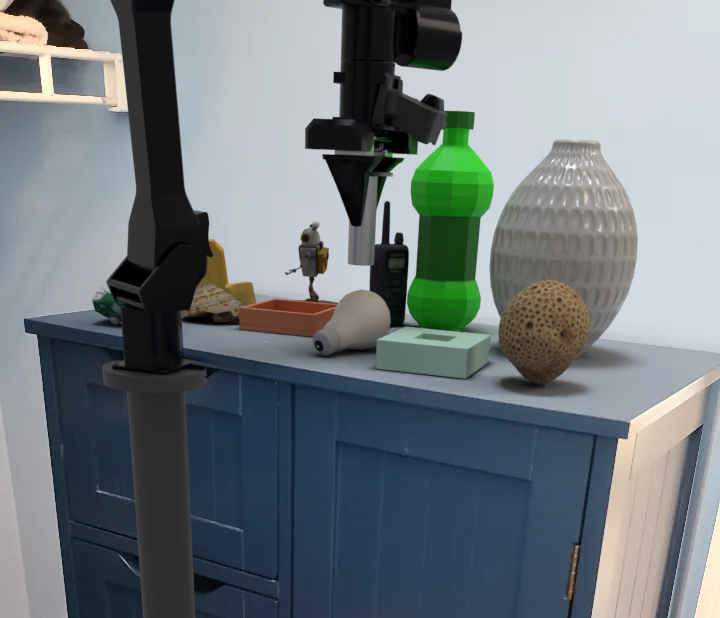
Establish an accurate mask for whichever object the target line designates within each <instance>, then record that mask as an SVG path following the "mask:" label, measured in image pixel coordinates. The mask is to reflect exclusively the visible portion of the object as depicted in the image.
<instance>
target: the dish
mask: <svg viewBox="0 0 720 618" xmlns="http://www.w3.org/2000/svg"><path fill="white" fill-rule="evenodd" d="M336 306H337V304H328V303H317V302H307V301H296V300H295V299H286V298H285V299H284V298H271V299H267V300H263V301H259V302H256V303H255V304H251V305H247V306H243V307H240V308H239V317H238V319H239V320H238V321H239V323H238V324H239V330H243V331H253V332H264V333H271V334H272V333H273V334H282V335H290V336H291V335H292V336H300V337H310V338H313V336H314V334H315V333H316V332H318V331H320V330H321V329H323V328H324V326H325V325H326V324H327V323H328V322H329V321H330V320H331V318H332V316H333V313H334V311H335V308H336Z"/></svg>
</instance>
